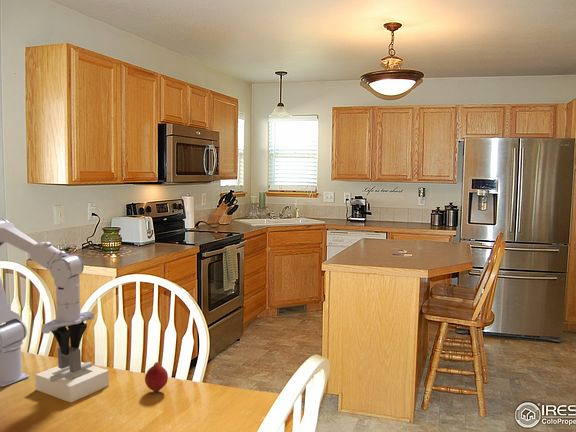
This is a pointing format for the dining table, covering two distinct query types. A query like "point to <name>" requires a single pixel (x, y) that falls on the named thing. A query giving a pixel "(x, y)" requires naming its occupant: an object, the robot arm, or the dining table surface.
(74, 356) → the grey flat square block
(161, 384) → the onion
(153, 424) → the dining table surface
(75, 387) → the shallow white tray
